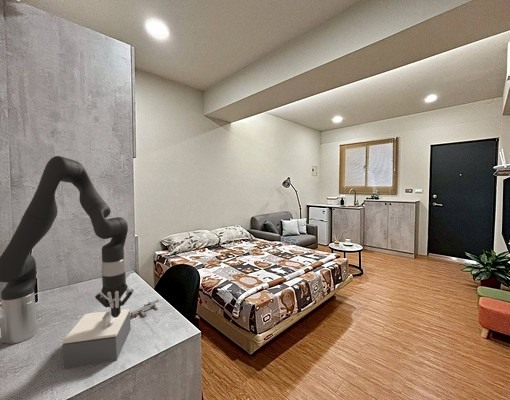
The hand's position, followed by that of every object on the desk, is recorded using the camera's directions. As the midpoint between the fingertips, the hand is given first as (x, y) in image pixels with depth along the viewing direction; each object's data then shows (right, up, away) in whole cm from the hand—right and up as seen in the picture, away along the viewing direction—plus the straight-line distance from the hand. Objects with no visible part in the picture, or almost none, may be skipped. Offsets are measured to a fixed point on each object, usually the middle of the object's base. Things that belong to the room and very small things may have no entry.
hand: (116, 316), depth 90 cm
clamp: (+1, -10, +25) cm, 27 cm away
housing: (-5, -11, 0) cm, 12 cm away
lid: (-5, -3, -1) cm, 6 cm away
